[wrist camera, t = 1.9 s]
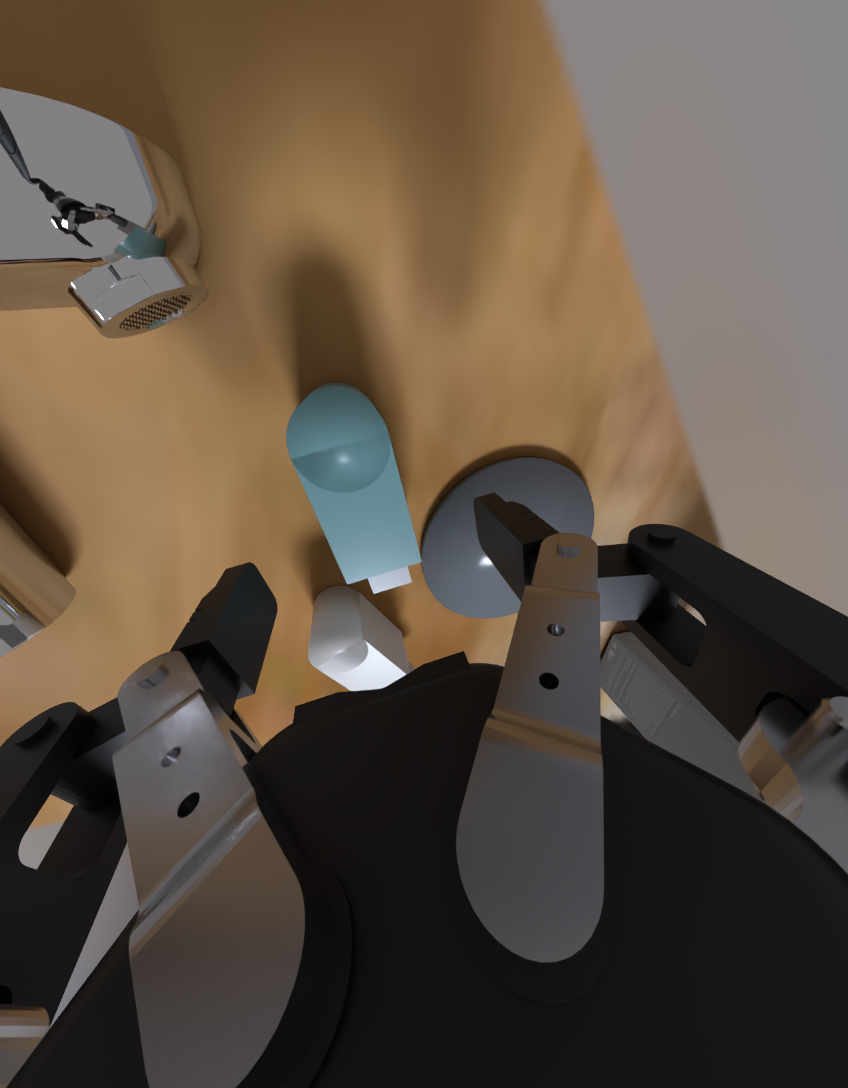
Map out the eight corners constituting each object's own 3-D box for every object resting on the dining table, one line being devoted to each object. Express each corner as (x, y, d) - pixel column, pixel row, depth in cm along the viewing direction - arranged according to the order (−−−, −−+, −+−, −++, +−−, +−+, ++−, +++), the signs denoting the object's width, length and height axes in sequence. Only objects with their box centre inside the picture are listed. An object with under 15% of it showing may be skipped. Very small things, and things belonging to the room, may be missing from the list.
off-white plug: (302, 603, 20) (294, 654, 16) (343, 576, 19) (343, 622, 16) (382, 666, 24) (388, 715, 21) (415, 645, 24) (427, 691, 21)
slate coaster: (400, 488, 17) (402, 492, 17) (596, 433, 18) (603, 435, 18) (438, 631, 24) (440, 637, 23) (581, 585, 25) (586, 589, 24)
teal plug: (287, 392, 14) (267, 405, 10) (365, 373, 14) (374, 378, 10) (359, 569, 19) (363, 620, 16) (414, 552, 20) (431, 598, 16)
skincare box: (589, 675, 32) (763, 898, 19) (614, 624, 29) (850, 855, 15) (655, 663, 34) (856, 858, 21) (686, 614, 30) (954, 812, 17)
